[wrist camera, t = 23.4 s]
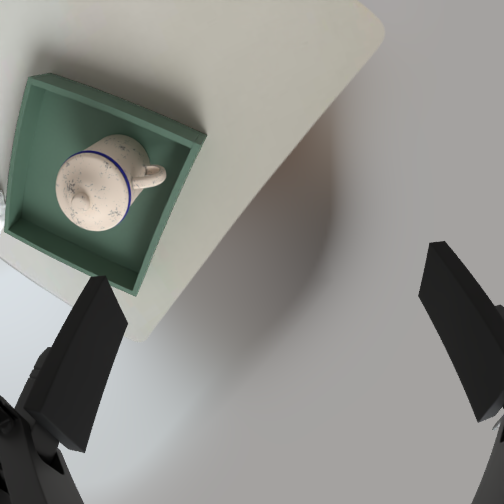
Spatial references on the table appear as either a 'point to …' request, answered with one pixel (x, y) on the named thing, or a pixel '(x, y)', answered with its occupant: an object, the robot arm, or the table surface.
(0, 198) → the bust
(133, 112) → the tray
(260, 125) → the table surface
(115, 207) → the teacup with lid
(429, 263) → the robot arm
